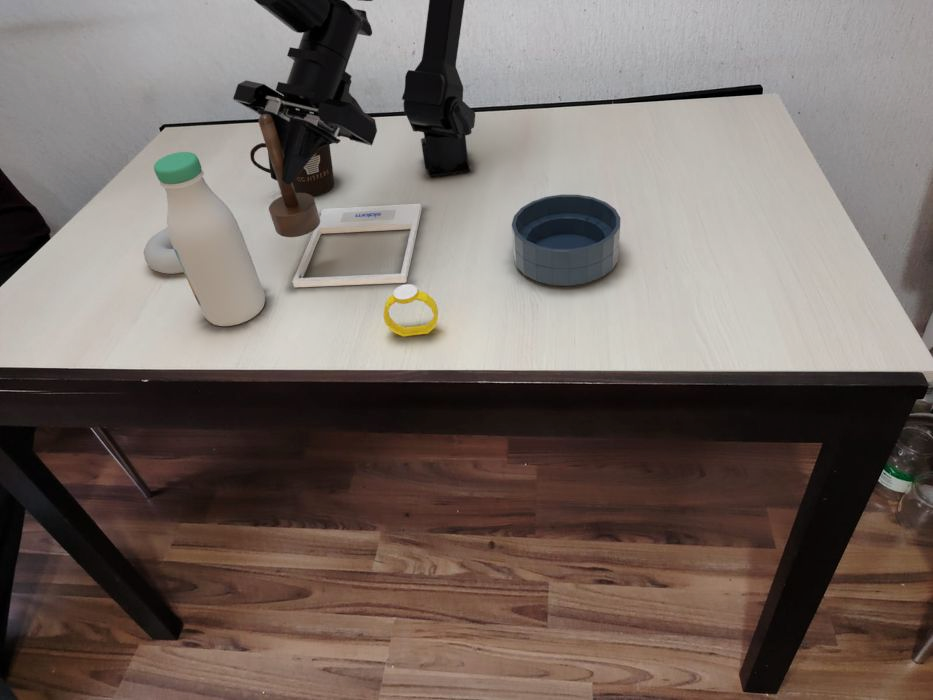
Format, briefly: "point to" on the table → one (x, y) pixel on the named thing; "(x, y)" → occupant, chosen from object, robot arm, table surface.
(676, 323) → the table surface
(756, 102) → the table surface
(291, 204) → the wooden plunger
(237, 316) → the milk bottle
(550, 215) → the bowl
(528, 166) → the table surface
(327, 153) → the coffee mug
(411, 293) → the watch
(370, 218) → the photo frame
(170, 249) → the donut
